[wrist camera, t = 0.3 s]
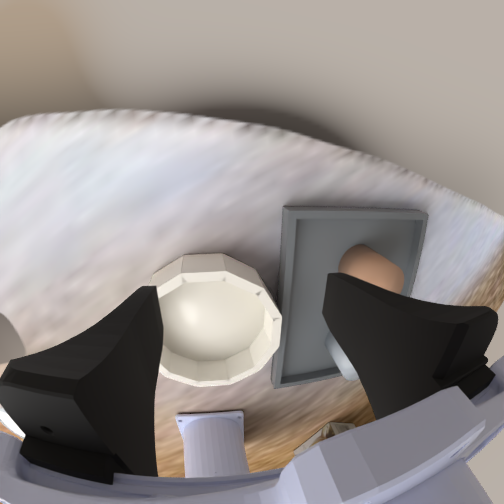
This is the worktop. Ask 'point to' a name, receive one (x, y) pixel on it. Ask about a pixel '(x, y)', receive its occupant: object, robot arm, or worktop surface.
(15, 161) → the worktop surface
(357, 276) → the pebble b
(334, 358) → the grey rounded cylinder
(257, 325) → the bowl
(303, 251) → the tray
